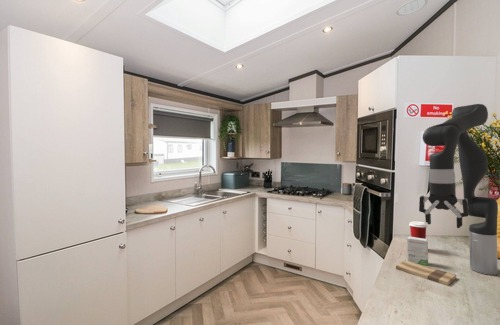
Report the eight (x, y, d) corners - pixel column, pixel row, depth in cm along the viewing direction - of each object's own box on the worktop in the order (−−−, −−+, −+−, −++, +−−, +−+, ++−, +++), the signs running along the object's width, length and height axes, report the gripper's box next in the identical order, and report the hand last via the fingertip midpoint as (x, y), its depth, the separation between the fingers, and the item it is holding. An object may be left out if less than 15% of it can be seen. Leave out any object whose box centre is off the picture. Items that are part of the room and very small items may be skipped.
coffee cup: (427, 248, 144) (426, 222, 143) (427, 253, 137) (427, 225, 136) (409, 246, 148) (409, 220, 148) (409, 250, 141) (408, 223, 141)
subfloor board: (405, 263, 125) (405, 260, 125) (456, 278, 108) (456, 274, 108) (395, 269, 119) (395, 265, 119) (447, 285, 103) (447, 281, 103)
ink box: (407, 262, 126) (406, 238, 126) (407, 258, 130) (407, 235, 130) (428, 266, 121) (427, 241, 121) (428, 262, 125) (427, 238, 125)
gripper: (468, 181, 89) (470, 226, 90) (421, 179, 100) (422, 220, 100) (466, 183, 84) (467, 231, 85) (416, 181, 94) (417, 224, 95)
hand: (443, 225), depth 92 cm, fingers open, 8 cm apart
